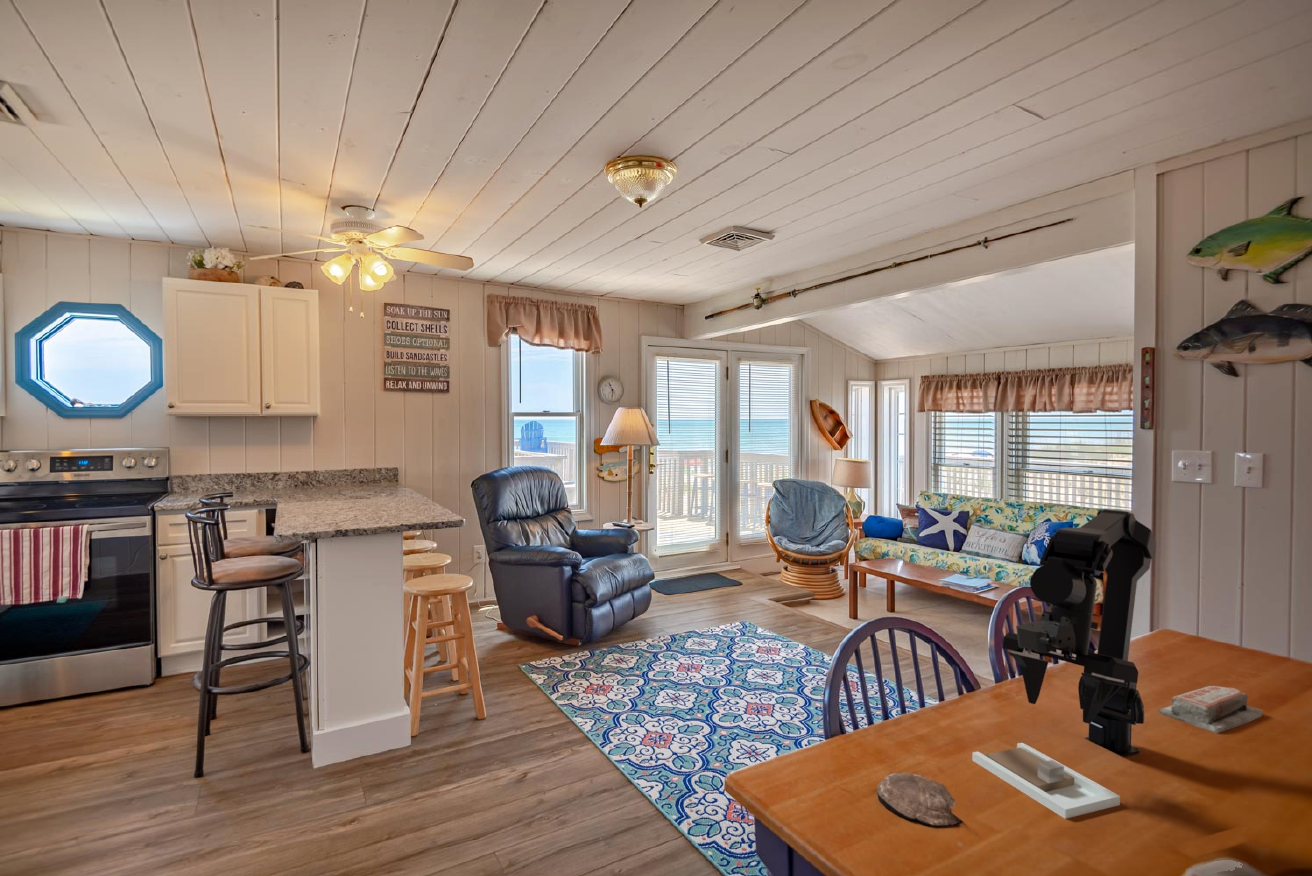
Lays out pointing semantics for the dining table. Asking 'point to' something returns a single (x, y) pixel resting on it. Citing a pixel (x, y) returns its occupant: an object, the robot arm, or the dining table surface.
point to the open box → (1061, 801)
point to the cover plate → (1033, 769)
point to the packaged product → (1212, 708)
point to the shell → (918, 799)
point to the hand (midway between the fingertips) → (1058, 712)
